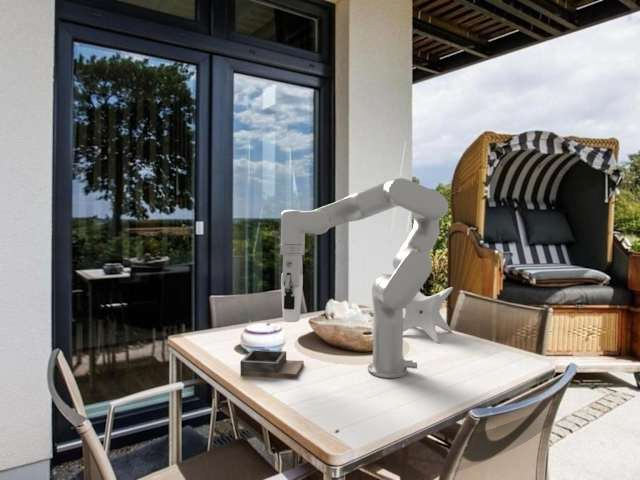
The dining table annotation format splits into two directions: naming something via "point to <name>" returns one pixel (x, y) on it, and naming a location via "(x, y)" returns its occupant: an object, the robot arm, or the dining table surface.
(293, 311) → the white cup
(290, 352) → the dining table surface
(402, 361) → the robot arm
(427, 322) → the grey spiky star shape
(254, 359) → the open box
